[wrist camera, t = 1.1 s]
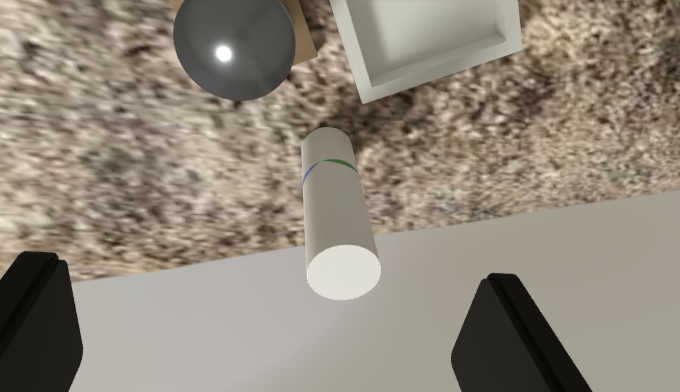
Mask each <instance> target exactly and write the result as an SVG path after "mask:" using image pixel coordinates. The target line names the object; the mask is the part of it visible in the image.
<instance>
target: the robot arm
mask: <svg viewBox="0 0 680 392" xmlns="http://www.w3.org/2000/svg"><path fill="white" fill-rule="evenodd" d="M82 355H83V344H82V339H81V334H80V329H79V324H78V318H77V313H76V307H75V302H74V297H73V291H72V287H71V281H70V275H69V270H68V265H67V262H66V261H65V260H59V258H58V256H57V254H56V253H52V252H31V251H24V252H22V253H21V254H20V255H19V256H18V257H17V258H16V259H15V261H14V262H13V264H12V265H11V266H10V268H9V269H8V270H7V272H6V273H5V274H4V276H3V277H2V278H1V280H0V392H68V391H69V389H70V387H71V384H72V382H73V380H74V377H75V375H76V373H77V371H78V368H79V366H80V363H81V360H82ZM451 363H452V367H453V370H454V373H455V375H456V378H457V381H458V383H459V386H460V389H461V391H462V392H592V390H591V389H590V387H589V386H588V384H587V383H586V381H585V379H584V378H583V377H582V375H581V373H580V372H579V370H578V369H577V367H576V366H575V364H574V363H573V361H572V359H571V358H570V356H569V355H568V353H567V352H566V350H565V349H564V347H563V345H562V344H561V342H560V341H559V339H558V338H557V336H556V335H555V333H554V332H553V330H552V329H551V327H550V325H549V324H548V322H547V321H546V319H545V318H544V316H543V315H542V313H541V312H540V310H539V308H538V307H537V305H536V304H535V302H534V301H533V299H532V298H531V296H530V295H529V293H528V291H527V290H526V288H525V287H524V285H523V284H522V282H521V281H520V279H519V278H518V277H517V276H516V275H514V274H503V273H491V274H489V275H488V277H487V279H483V280H481V282H480V285H479V287H478V289H477V292H476V294H475V297H474V299H473V301H472V304H471V307H470V309H469V311H468V314H467V316H466V319H465V321H464V323H463V326H462V328H461V331H460V333H459V336H458V338H457V340H456V343H455V346H454V348H453V350H452V354H451Z"/></svg>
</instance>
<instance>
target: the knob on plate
mask: <svg viewBox="0 0 680 392" xmlns="http://www.w3.org/2000/svg"><path fill="white" fill-rule="evenodd" d="M170 2H171V4H172V6H173V8H174V10H175V12H176V14H177V15H176V18H175V22H174V30H173V37H174V45H175V50H176V53H177V56H178V59H179V61H180V63H181V65H182V66H183V68H184V70H185V71H186V73H187V74H188V75H189V76H190V78H191V79H192V80H193V81H194V82H195V83H196V84H198V85H199V86H200V87H201V88H203V89H204V90H206V91H207V92H209V93H211V94H213V95H215V96H218V97H221V98H224V99H228V100H236V101H246V100H253V99H256V98H260V97H262V96H265V95H267V94H269V93H270V92H272V91H273V90H275V89H276V88H277V87H278V86H279V85H280V84H281V83H282V82H283V81H284V80H285V78H286V77H287V75H288V74H289V72H290V70H291V67H292V66H293V65H295V64H298V63H301V62H304V61H307V60H310V59H312V58H315V57H318V53H317V50H316V47H315V44H314V41H313V38H312V36H311V33H310V30H309V27H308V24H307V22H306V19H305V16H304V13H303V10H302V7H301V5H300V2H299V0H170Z"/></svg>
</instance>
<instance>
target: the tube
mask: <svg viewBox="0 0 680 392" xmlns="http://www.w3.org/2000/svg"><path fill="white" fill-rule="evenodd" d="M301 153H302V176H303V200H304V223H305V246H306V267H307V268H306V269H307V280H308V283H309V285H310V286H311V288H312V289H313V290H314V291H315V292H316V293H318V294H319V295H321V296H323V297H326V298H329V299H334V300H348V299H353V298H356V297H359V296H361V295H363V294H365V293H367V292H368V291H370V290H371V289H372V288H373V287H374V286H375V285H376V283H377V282H378V280H379V278H380V274H381V266H380V261H379V257H378V253H377V249H376V244H375V240H374V236H373V232H372V227H371V223H370V219H369V215H368V211H367V206H366V202H365V198H364V194H363V190H362V185H361V181H360V177H359V173H358V169H357V165H356V160H355V156H354V152H353V148H352V144H351V141H350V139H349V137H348V136H347V135H346V134H345V133H344V132H343V131H341V130H339V129H337V128H333V127H322V128H318V129H316V130H314V131H312V132H311V133H309V134H308V135H307V137H306V138H305V139H304V141H303V144H302V149H301Z"/></svg>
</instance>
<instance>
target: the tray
mask: <svg viewBox="0 0 680 392" xmlns="http://www.w3.org/2000/svg"><path fill="white" fill-rule="evenodd" d="M329 1H330V4H331V7H332V10H333V14H334V17H335V20H336V23H337V26H338V29H339V32H340V35H341V39H342V42H343V45H344V48H345V51H346V54H347V57H348V61H349V64H350V67H351V70H352V73H353V76H354V79H355V83H356V86H357V89H358V92H359V95H360V98H361V101H362V104H365V103H368V102H371V101H374V100H377V99H380V98H383V97H386V96H389V95H392V94H395V93H397V92H400V91H403V90H406V89H409V88H412V87H415V86H418V85H421V84H424V83H427V82H430V81H433V80H436V79H439V78H441V77H444V76H447V75H450V74H453V73H456V72H459V71H462V70H465V69H468V68H471V67H474V66H477V65H480V64H483V63H485V62H488V61H491V60H494V59H497V58H500V57H503V56H506V55H509V54H512V53H515V52H518V51H521V50H523V49H522V39H521V28H520V18H519V7H518V0H329Z"/></svg>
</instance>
